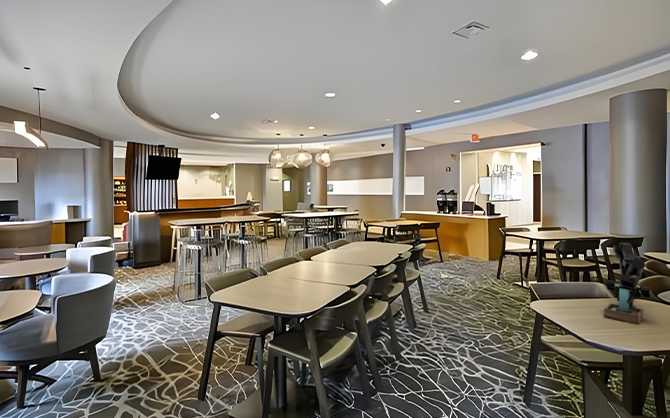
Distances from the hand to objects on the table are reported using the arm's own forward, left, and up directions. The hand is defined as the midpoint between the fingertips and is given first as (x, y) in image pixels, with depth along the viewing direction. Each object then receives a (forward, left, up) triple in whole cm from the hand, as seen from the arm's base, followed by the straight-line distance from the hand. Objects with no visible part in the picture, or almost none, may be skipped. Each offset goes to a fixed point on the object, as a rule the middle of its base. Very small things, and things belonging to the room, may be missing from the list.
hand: (622, 301), depth 179 cm
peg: (-1, 0, -7) cm, 7 cm away
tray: (-1, 0, -8) cm, 9 cm away
